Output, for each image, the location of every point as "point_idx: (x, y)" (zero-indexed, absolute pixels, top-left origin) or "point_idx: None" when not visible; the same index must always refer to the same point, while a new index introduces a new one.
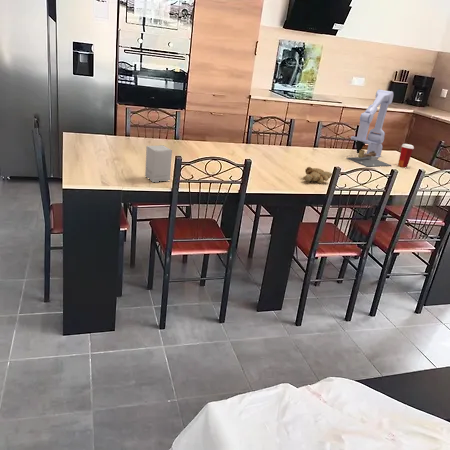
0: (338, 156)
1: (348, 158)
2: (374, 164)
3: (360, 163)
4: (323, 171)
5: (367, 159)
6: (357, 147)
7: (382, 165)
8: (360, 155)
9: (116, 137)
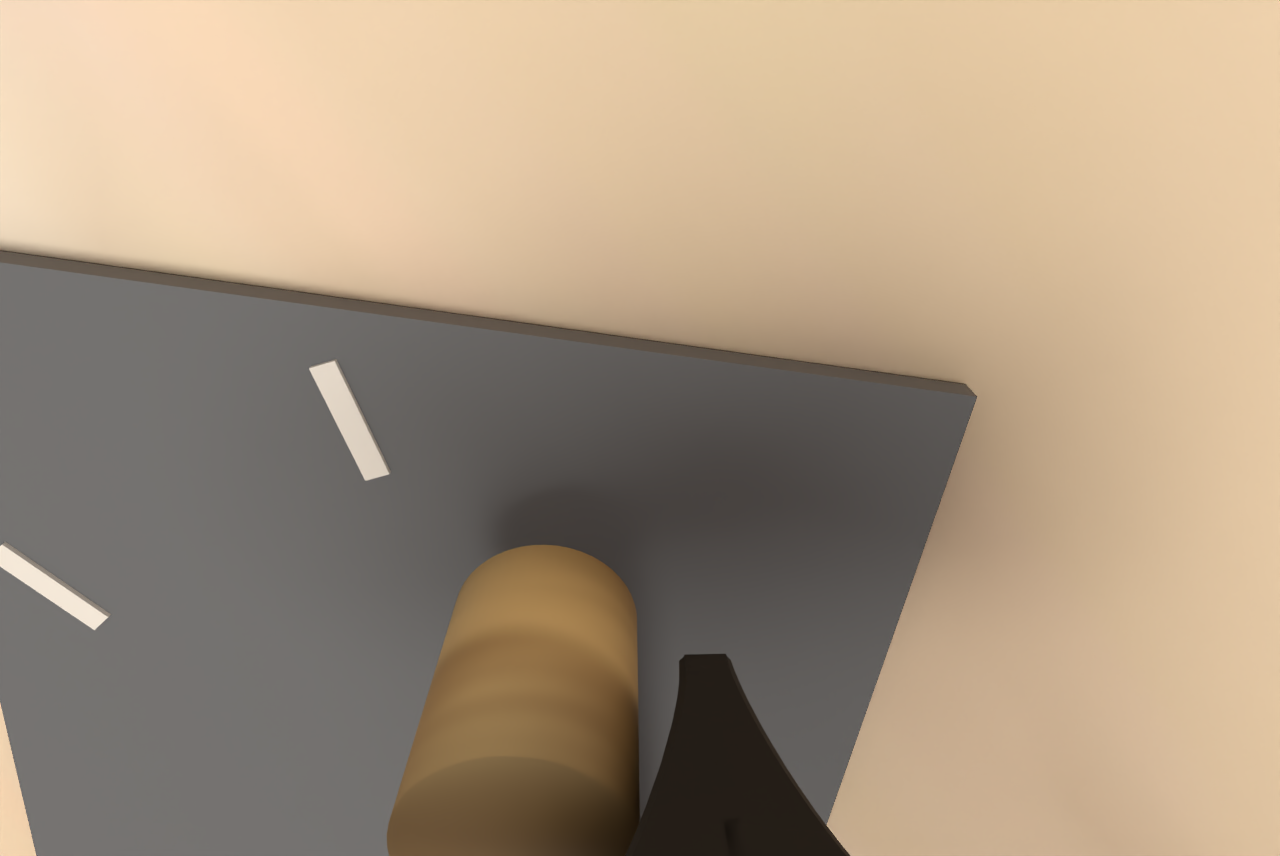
0: (1272, 284)
1: (889, 382)
2: (115, 660)
3: (268, 294)
4: None
5: None
6: (750, 836)
7: (24, 795)
8: (485, 602)
9: None
